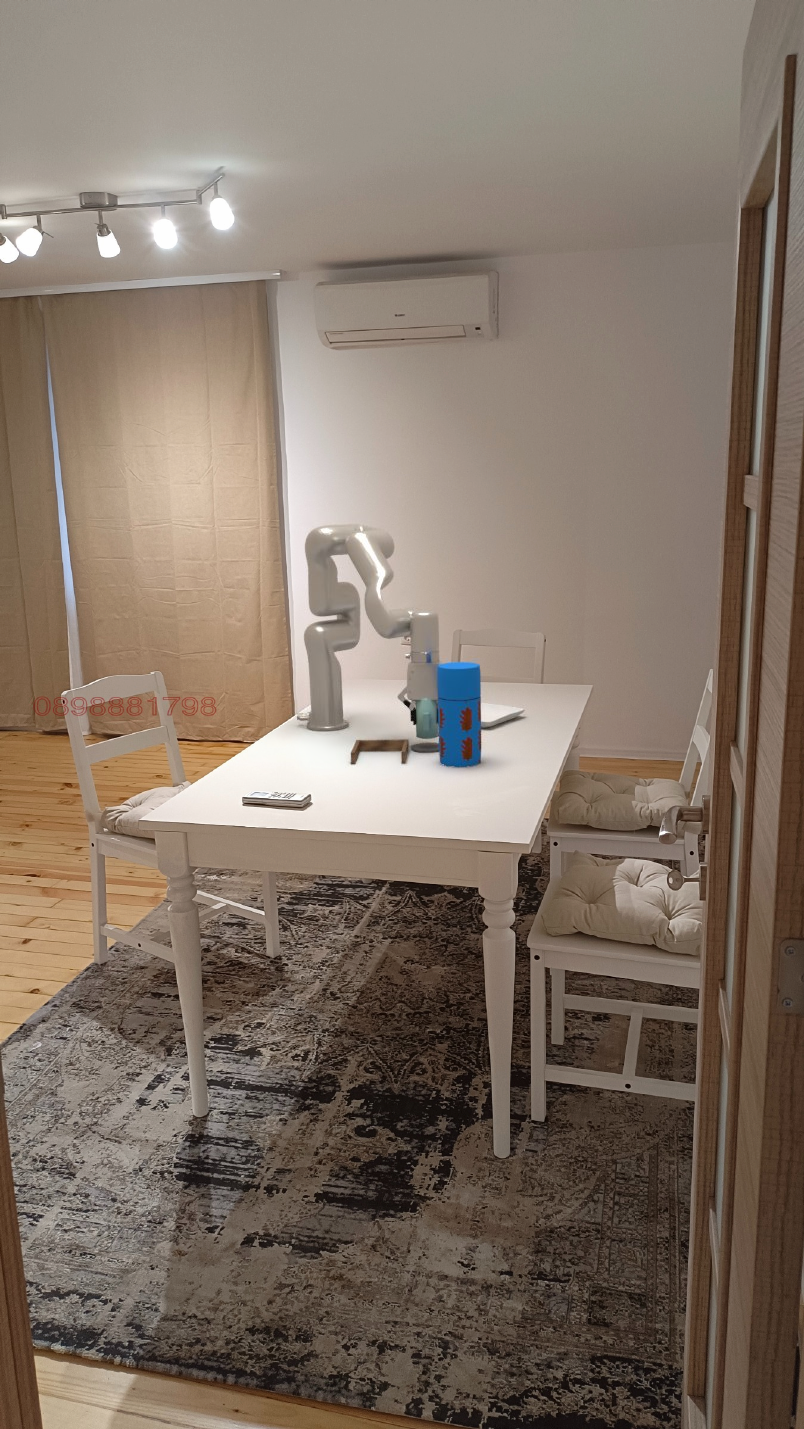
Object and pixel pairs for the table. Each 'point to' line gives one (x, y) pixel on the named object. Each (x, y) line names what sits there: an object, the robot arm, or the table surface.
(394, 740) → the holder
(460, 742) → the thermos
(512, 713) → the salad plate
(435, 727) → the teal mug
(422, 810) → the table surface
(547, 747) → the table surface
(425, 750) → the coaster
